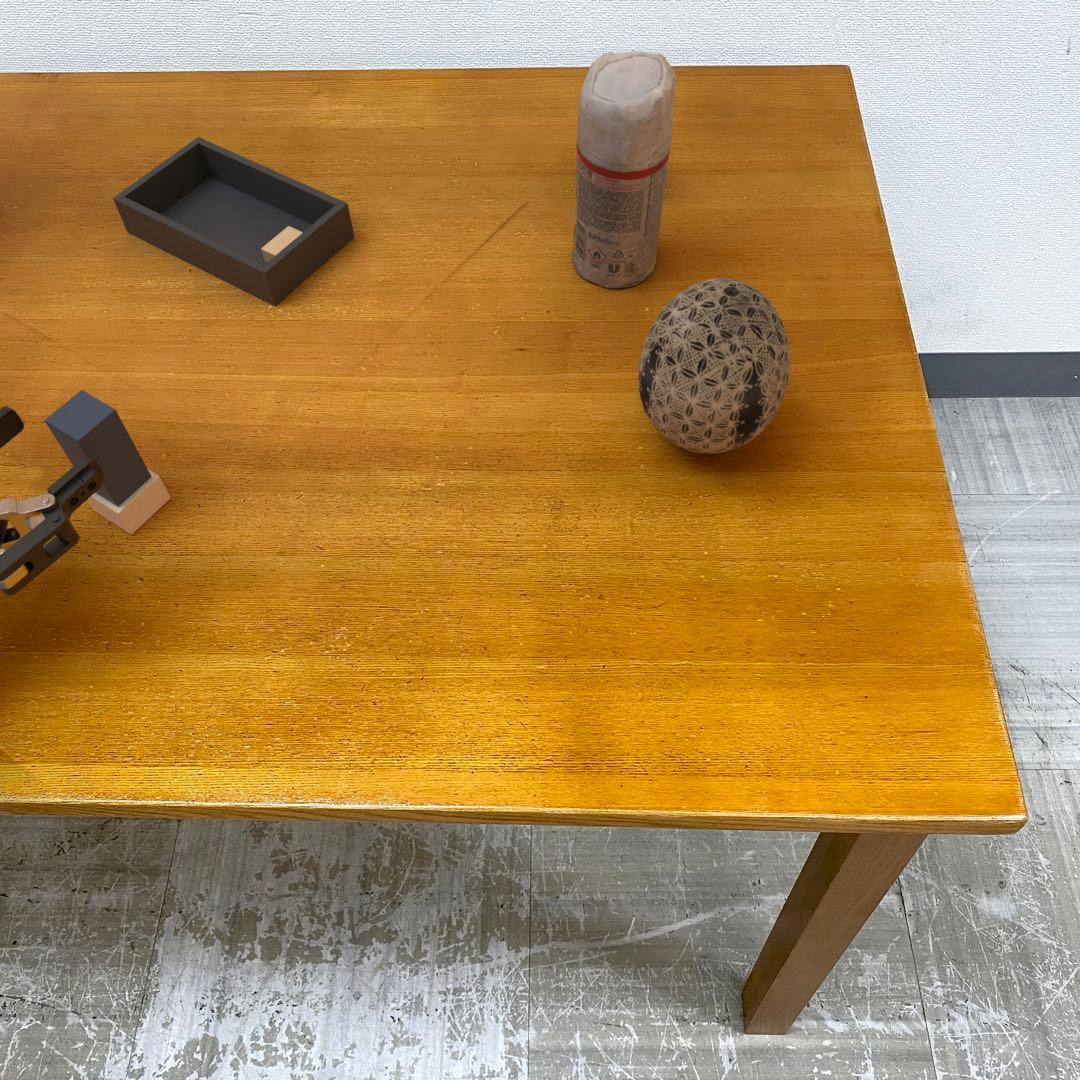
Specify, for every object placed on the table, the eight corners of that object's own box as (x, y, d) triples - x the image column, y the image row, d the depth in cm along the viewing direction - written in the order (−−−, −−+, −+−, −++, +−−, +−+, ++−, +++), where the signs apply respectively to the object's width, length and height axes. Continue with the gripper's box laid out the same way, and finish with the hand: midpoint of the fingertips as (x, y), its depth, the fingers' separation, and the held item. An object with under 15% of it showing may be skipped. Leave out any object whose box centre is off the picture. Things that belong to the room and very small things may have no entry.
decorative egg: (611, 400, 88) (619, 264, 75) (732, 364, 90) (760, 225, 78) (669, 502, 82) (688, 371, 69) (797, 459, 84) (839, 326, 71)
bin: (129, 236, 101) (112, 198, 97) (211, 175, 106) (198, 136, 103) (276, 311, 95) (264, 272, 91) (355, 242, 100) (347, 202, 96)
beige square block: (264, 261, 98) (260, 248, 96) (292, 238, 100) (288, 225, 98) (295, 277, 96) (292, 263, 95) (323, 253, 98) (320, 240, 97)
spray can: (677, 269, 97) (701, 72, 81) (609, 305, 95) (619, 109, 78) (622, 223, 101) (635, 26, 84) (555, 256, 98) (555, 59, 82)
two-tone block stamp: (93, 510, 82) (35, 421, 73) (133, 474, 84) (82, 383, 75) (131, 535, 81) (77, 447, 72) (171, 498, 83) (123, 407, 74)
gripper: (-102, 627, 60) (106, 448, 67) (-244, 520, 64) (-34, 363, 72) (-40, 684, 66) (144, 514, 73) (-173, 583, 70) (13, 432, 78)
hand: (56, 440), depth 72 cm, fingers open, 8 cm apart
